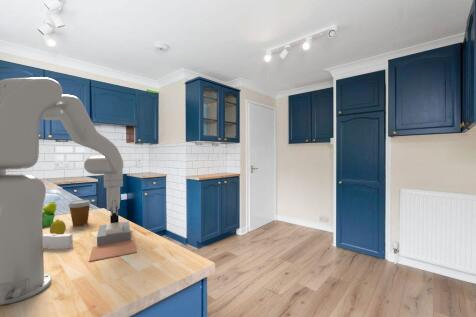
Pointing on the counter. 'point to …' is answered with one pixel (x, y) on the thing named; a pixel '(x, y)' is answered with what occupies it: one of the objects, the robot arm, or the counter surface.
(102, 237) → the grey block
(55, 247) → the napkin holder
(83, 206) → the disposable coffee cup
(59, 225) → the lemon
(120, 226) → the tile
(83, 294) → the counter surface
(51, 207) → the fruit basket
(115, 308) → the counter surface
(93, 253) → the mat
